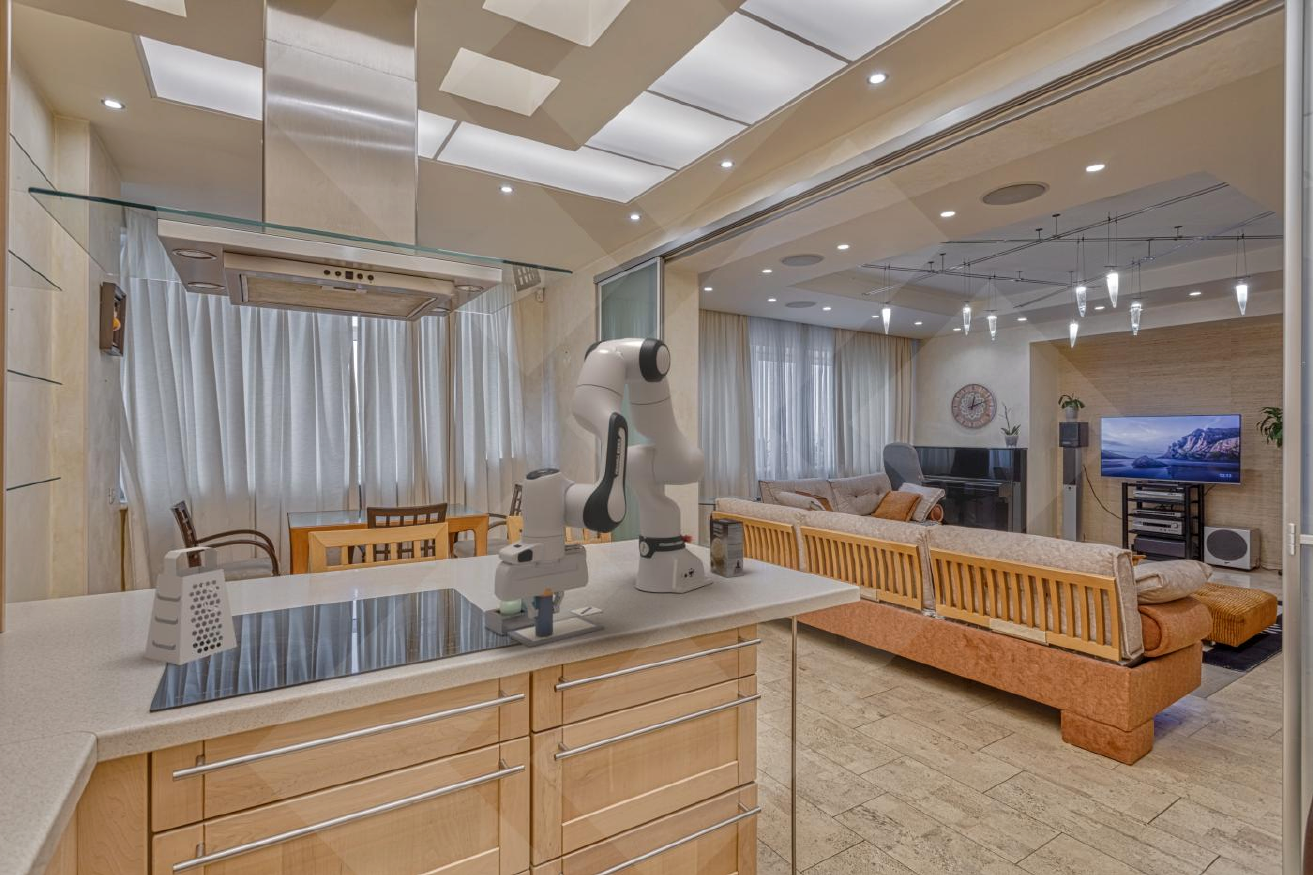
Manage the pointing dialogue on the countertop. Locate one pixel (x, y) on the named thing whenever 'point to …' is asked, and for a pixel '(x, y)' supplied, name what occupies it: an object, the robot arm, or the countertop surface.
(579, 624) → the board
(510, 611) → the button
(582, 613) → the card
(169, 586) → the grater
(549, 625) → the orange capped blue bottle
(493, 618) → the button housing
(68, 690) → the countertop surface
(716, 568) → the coffee box
